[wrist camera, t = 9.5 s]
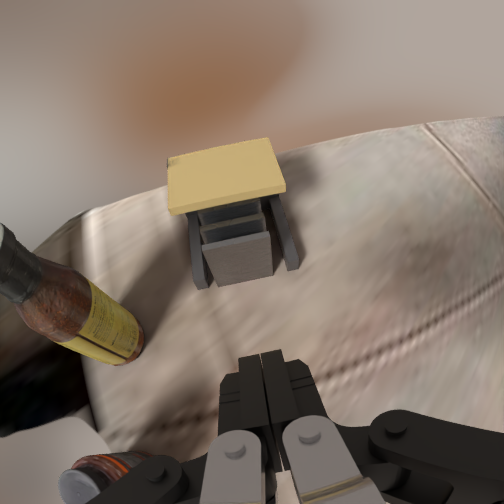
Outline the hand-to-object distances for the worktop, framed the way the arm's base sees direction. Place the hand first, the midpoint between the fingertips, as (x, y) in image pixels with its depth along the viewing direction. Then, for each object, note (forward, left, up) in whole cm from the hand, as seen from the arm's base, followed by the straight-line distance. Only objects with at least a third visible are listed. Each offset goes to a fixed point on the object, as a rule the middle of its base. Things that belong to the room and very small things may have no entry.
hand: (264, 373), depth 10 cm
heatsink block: (0, -18, -19) cm, 26 cm away
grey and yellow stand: (0, -18, -18) cm, 26 cm away
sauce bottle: (+15, -9, -19) cm, 26 cm away
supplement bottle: (+14, +6, -19) cm, 24 cm away
